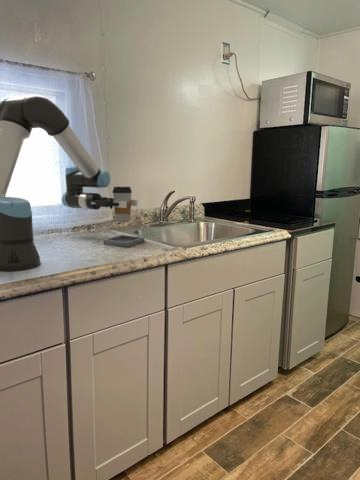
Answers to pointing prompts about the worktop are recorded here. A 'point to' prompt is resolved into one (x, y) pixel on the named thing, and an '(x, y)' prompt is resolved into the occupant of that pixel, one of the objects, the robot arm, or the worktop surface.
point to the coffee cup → (122, 195)
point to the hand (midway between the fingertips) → (131, 203)
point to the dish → (124, 241)
